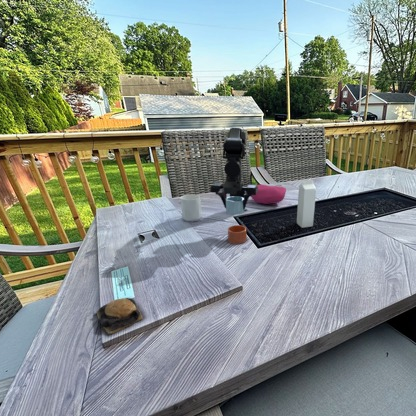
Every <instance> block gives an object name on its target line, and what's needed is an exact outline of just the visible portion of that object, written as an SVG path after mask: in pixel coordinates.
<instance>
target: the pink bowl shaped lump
mask: <svg viewBox="0 0 416 416" xmlns="http://www.w3.org/2000/svg"><path fill="white" fill-rule="evenodd" d="M256 185H257V186H258V192H257V194H256V195H252V196H251V197H250V198H251V199H252V201H254V202H256V203H258V204H265V205H269V204H277V203H278V204H279V203H281V202H282V201H283V200H284V199H285V196H286V192H287V189H286V187H283V186H276V185H267V184H256Z"/></svg>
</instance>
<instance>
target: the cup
mask: <svg viewBox="0 0 416 416" xmlns="http://www.w3.org/2000/svg"><path fill="white" fill-rule="evenodd" d="M227 241H228V243H230V244H232V245H233V244H234V245H239V244H243V243H245V242H246V241H247V227H246V226H244V225H241V224H235V225H230V226H228V228H227Z"/></svg>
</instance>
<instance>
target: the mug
mask: <svg viewBox="0 0 416 416" xmlns="http://www.w3.org/2000/svg"><path fill="white" fill-rule="evenodd" d="M180 207H181V218H182V219H183V220H184V221H185V222H188V223H189V222H197V221H200V219H201V218H202V217H203V216H202V215H203V214H202V200H201V195H199V194H193V193H191V194H189V193H188V194H184V195H181V196H180Z"/></svg>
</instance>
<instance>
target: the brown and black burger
mask: <svg viewBox="0 0 416 416" xmlns="http://www.w3.org/2000/svg"><path fill="white" fill-rule="evenodd" d="M96 316H97V320H98V322H99V324H100V325H101V327H102V329H103V330H104V331H105V332H106V333H107V334H108V335H109V336H110V335H113V334H116V333H117V332H119V331H122V330H125V329H126V328H127V327H131V326H133V325H134V324H136V323H138V322H140V321H141V320H143V318H144V317H143V315H142V314H141V312H140V310H139V308H138V307H137V303H136V301H135V299H133V298H130V297H125V298H123V297H122V298H117V299H114V300H112V301H110V302H108V303H106V304H104V305H102V306H100V307H99V308H98V309H96Z"/></svg>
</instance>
